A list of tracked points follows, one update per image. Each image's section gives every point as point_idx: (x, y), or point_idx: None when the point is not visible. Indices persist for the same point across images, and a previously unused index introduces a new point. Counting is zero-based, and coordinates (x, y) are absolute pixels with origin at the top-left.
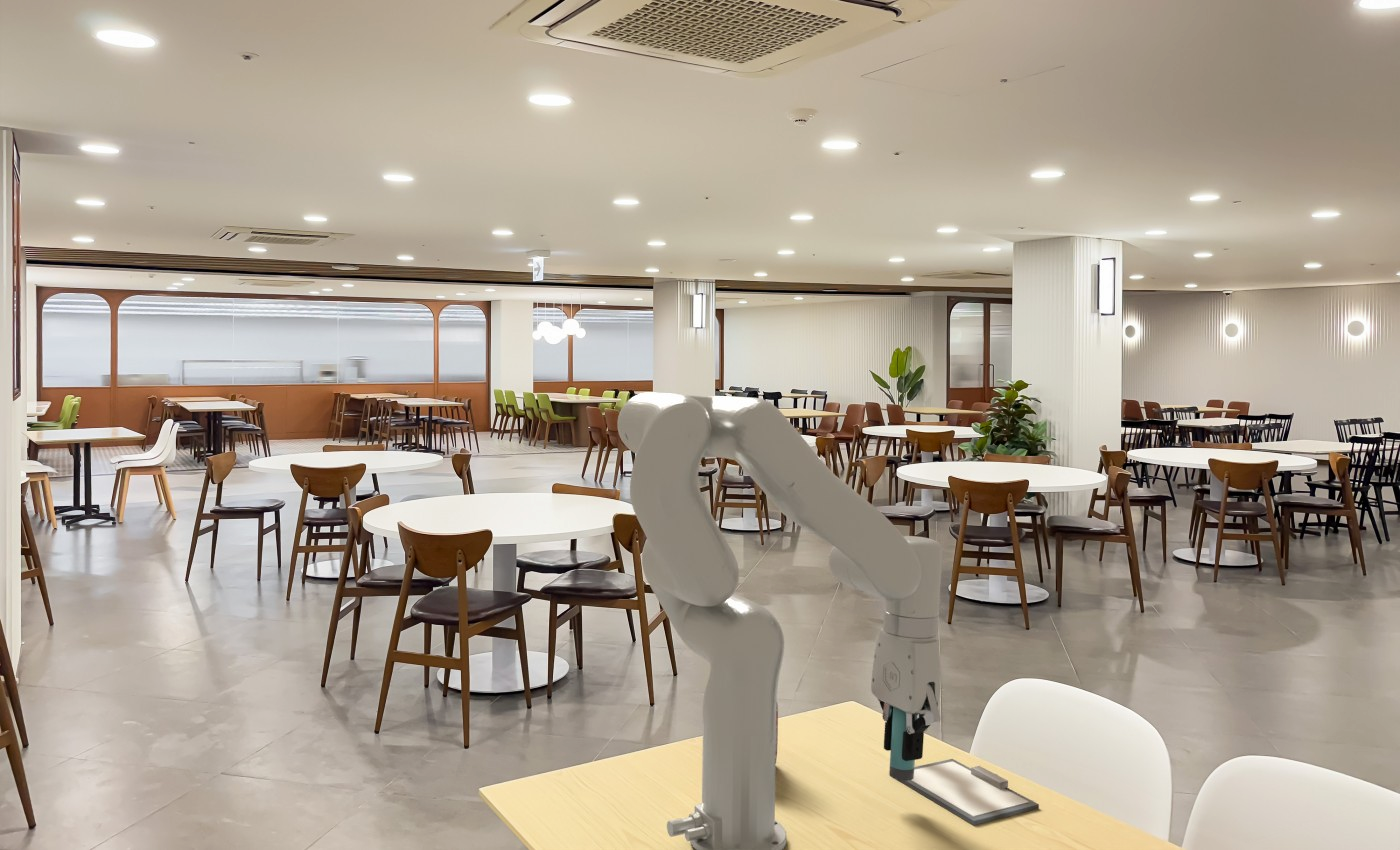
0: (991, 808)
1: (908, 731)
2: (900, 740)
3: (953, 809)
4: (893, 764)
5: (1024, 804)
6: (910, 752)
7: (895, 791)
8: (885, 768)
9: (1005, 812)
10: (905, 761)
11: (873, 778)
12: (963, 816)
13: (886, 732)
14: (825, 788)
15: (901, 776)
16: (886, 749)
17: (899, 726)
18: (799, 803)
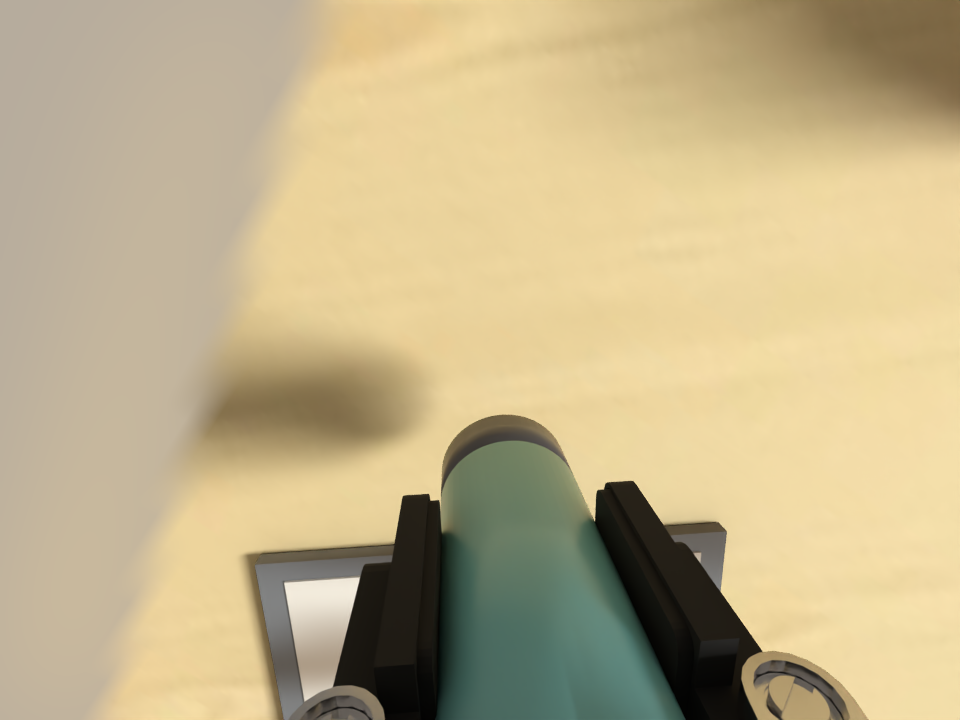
0: (317, 666)
1: (361, 706)
2: (474, 582)
3: (364, 555)
4: (501, 449)
5: None
6: (386, 565)
7: (604, 466)
8: (780, 540)
9: (279, 687)
10: (444, 511)
11: (736, 454)
12: (310, 557)
13: (659, 565)
14: (764, 223)
15: (452, 447)
16: (606, 485)
17: (502, 693)
18: (704, 15)
